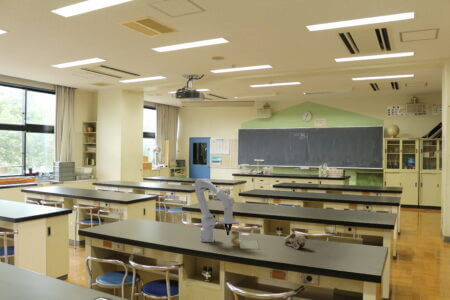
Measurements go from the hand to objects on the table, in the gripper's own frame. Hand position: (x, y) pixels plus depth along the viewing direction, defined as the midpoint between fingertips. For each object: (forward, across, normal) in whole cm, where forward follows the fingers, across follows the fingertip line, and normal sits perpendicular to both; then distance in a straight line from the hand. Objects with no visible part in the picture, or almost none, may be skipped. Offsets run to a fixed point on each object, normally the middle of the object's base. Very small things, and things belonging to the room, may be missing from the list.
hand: (227, 234), depth 235 cm
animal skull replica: (+7, +45, -4) cm, 45 cm away
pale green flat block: (+6, +14, 0) cm, 16 cm away
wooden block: (+6, +5, 0) cm, 8 cm away
